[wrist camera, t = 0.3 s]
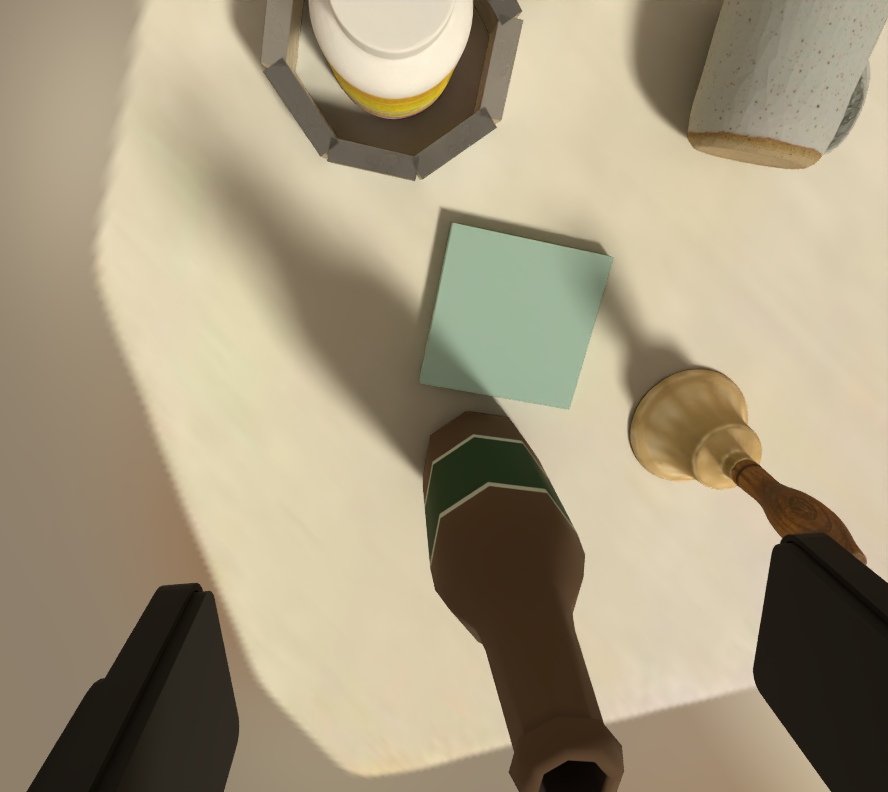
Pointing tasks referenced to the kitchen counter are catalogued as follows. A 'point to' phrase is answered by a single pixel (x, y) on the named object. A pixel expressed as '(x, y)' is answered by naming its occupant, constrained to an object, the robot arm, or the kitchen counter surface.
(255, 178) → the kitchen counter surface
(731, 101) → the ceramic mug
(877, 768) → the robot arm
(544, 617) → the beer bottle
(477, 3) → the collar
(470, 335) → the pad
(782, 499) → the hand bell
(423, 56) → the supplement bottle
